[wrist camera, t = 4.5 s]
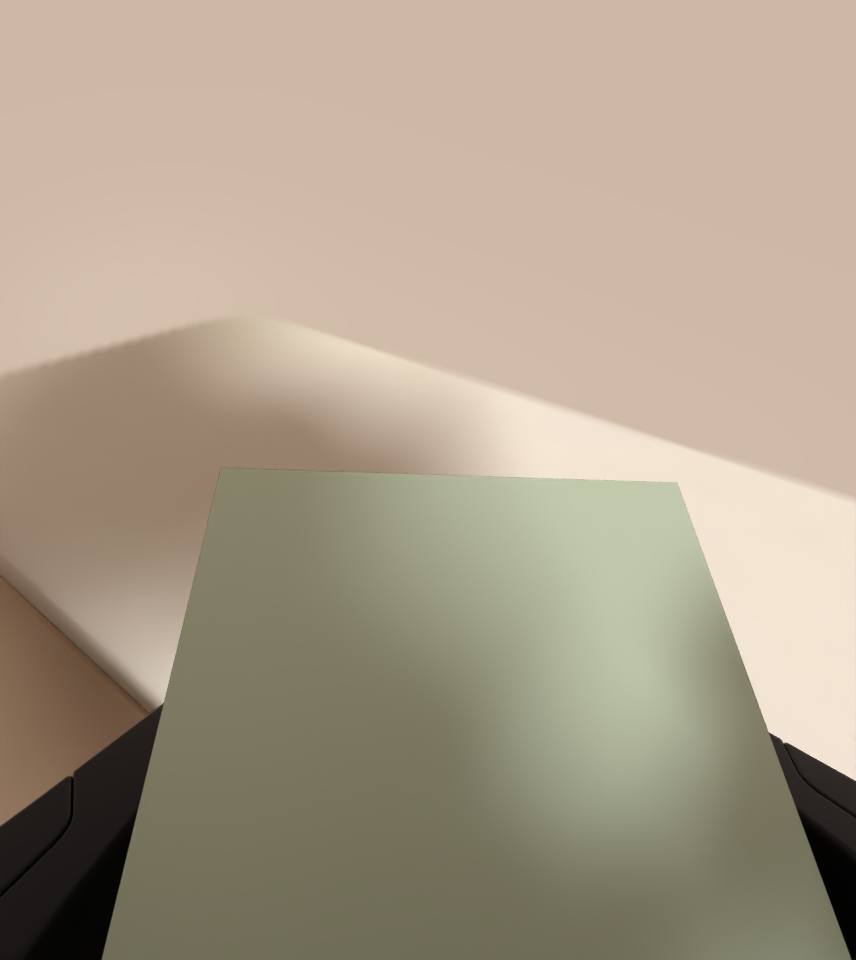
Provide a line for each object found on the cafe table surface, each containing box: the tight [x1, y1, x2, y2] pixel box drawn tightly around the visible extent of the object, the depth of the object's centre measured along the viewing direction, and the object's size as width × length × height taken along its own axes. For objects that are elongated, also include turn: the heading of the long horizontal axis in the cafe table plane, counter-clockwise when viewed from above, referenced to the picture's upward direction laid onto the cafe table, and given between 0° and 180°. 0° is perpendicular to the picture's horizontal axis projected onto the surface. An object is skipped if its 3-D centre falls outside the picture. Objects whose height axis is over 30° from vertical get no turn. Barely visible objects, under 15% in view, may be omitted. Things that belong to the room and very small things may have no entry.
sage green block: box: [102, 468, 851, 960], centre depth 9 cm, size 6×6×11 cm
